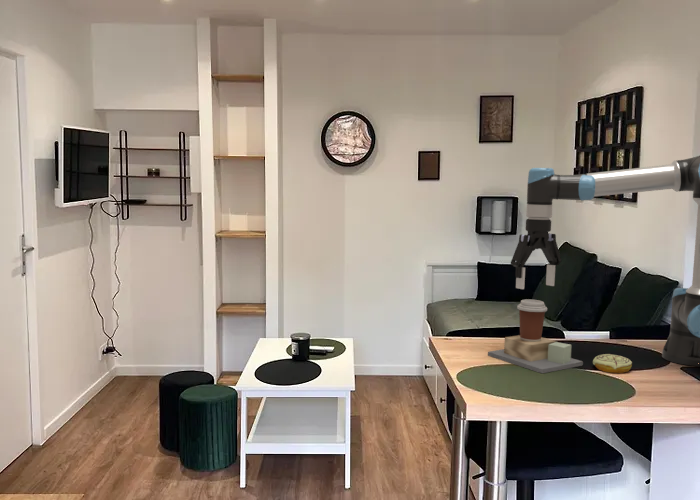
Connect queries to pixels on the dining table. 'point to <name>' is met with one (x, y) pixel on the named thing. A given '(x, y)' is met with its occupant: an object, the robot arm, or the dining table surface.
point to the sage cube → (559, 352)
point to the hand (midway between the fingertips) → (535, 287)
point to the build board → (534, 362)
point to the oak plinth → (527, 348)
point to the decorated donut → (612, 363)
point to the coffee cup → (531, 319)
